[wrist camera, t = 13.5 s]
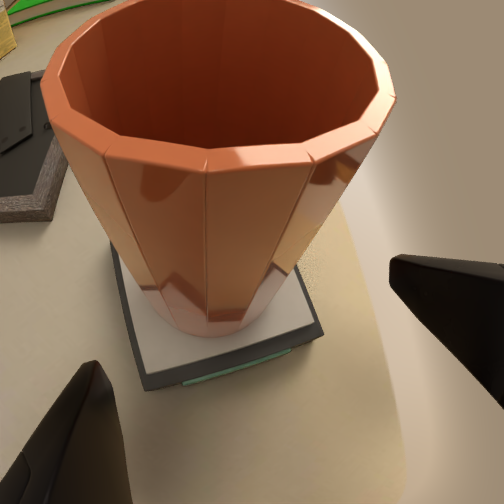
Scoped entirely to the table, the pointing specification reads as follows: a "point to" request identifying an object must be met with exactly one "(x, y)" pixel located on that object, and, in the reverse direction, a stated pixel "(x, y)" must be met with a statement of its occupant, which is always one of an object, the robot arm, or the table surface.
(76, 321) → the table surface
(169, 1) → the cup
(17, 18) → the book
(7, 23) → the candy box
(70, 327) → the table surface
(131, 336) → the scale
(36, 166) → the picture frame
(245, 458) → the table surface
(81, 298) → the table surface
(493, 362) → the robot arm
